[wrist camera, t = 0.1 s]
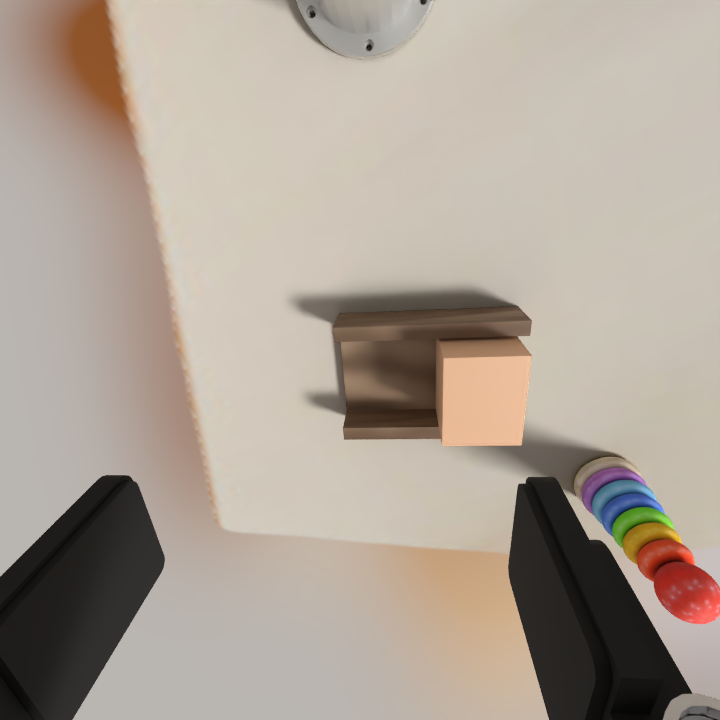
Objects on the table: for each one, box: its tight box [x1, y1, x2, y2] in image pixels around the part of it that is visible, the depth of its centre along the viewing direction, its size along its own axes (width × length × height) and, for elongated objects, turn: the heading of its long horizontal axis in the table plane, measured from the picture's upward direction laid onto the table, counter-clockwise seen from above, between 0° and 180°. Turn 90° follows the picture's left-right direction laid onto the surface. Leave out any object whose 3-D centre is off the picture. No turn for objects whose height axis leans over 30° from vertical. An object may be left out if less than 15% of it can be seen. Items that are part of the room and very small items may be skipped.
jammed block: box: [436, 336, 532, 446], centre depth 43 cm, size 10×8×8 cm
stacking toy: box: [574, 457, 720, 624], centre depth 44 cm, size 8×8×19 cm
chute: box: [333, 306, 532, 440], centre depth 46 cm, size 14×20×5 cm
